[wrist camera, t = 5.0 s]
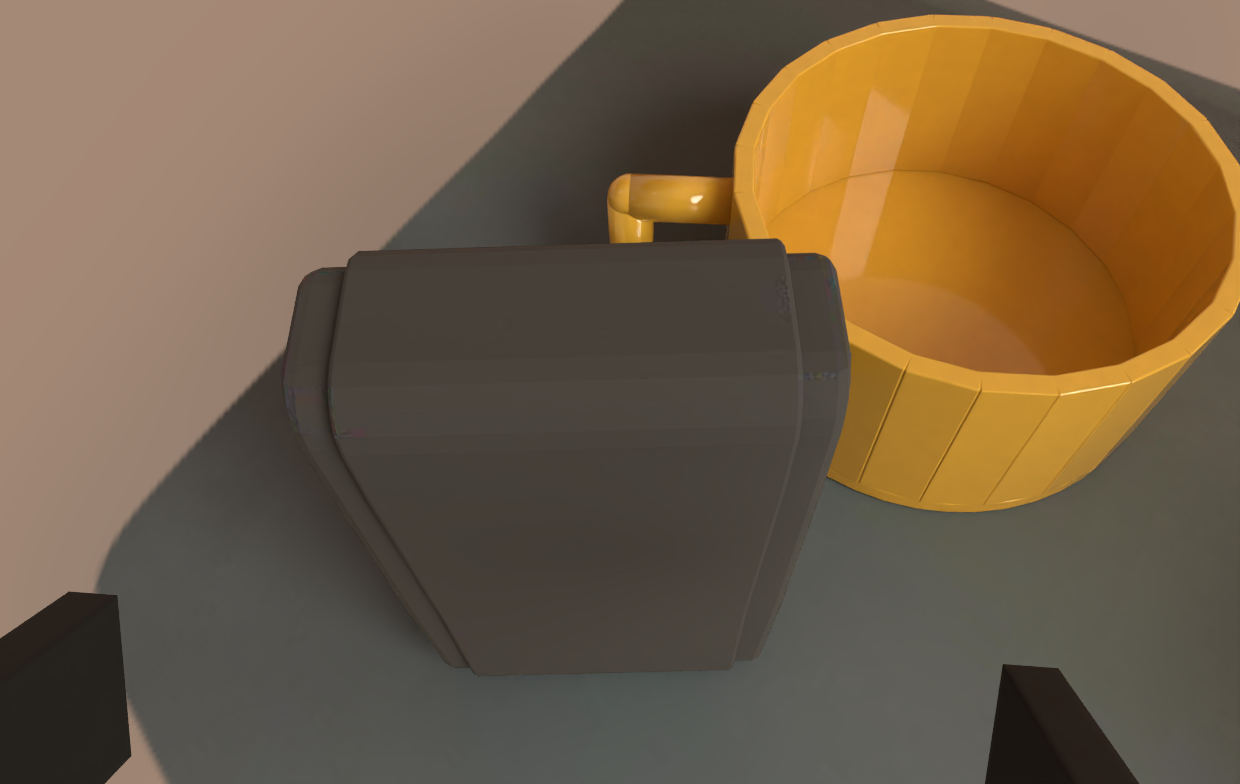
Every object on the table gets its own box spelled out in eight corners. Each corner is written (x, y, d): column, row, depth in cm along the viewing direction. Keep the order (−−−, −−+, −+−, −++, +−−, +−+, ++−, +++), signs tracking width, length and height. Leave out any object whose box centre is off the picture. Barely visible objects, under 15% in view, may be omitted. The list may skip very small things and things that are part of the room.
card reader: (759, 544, 29) (843, 199, 16) (772, 678, 27) (881, 403, 14) (455, 552, 29) (304, 215, 16) (445, 686, 27) (262, 420, 14)
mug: (1103, 179, 36) (1192, 21, 30) (1186, 528, 29) (1325, 410, 23) (629, 159, 38) (625, 4, 32) (593, 490, 30) (579, 368, 24)
